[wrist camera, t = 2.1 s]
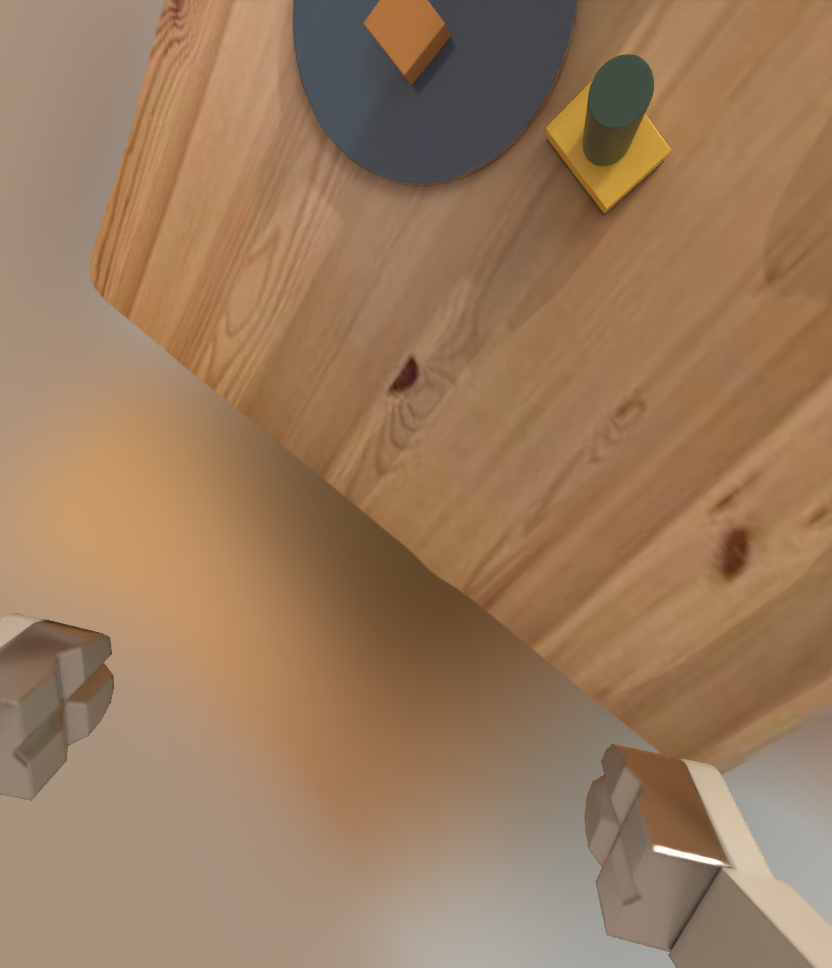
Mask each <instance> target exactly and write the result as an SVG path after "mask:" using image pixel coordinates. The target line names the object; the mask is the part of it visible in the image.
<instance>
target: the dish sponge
mask: <svg viewBox="0 0 832 968" xmlns="http://www.w3.org/2000/svg"><path fill="white" fill-rule="evenodd" d="M653 91H654V77H653V73H652V70H651V68H650V66H649V65H648V64H647V62H646V61H645V60H643V59H642V58H640V57H638V56H636V55H630V54H626V55H620V56H617V57H615V58H613V59H611V60H609V61H608V62H607V63H605V64H604V65H603V66H602V67H601V68H600V69H599V71H598V72H597V73H596V75H595V77H594V78H593V79H592V80H591V81H590V82H589V83H588V84H587V85H586V87H585V88H584V89H583V90H582V91H581V92H580V93H579V94H578V95H577V96H576V97H575V98H574V99H573V100H572V101H571V102H570V103H569V104H568V105H567V106H566V107H565V108H564V109H563V110H562V111H561V112H560V113H559V115H558V116H557V117H556V118H555V119H554V120H553V121H552V122H551V123H550V124H549V125H548V126H547V127H546V136H547V141H548V142H549V144H550V145H551V146H552V148H553V149H554V150H555V152H556V153H557V154H558V155H559V157H560V158H561V159H562V161H563V162H564V163H565V165H566V166H567V167H568V169H569V170H570V171H571V173H572V174H573V175H574V177H575V178H576V179H577V181H578V182H579V183H580V185H581V186H582V187H583V189H584V190H585V191H586V192H587V194H588V195H589V196H590V198H591V199H592V200H593V202H594V203H595V204H596V206H597V207H598V208H599V210H600V211H601V212H602V214H603V215H605V214H606V213H607V212H608V211H609V210H610V209H611V208H612V207H613V206H615V205H616V204H617V203H618V202H619V201H620V200H621V199H622V198H624V197H625V196H626V195H627V194H628V193H629V192H630V191H631V190H632V189H634V188H635V187H636V186H637V185H638V184H639V183H640V182H641V181H642V180H644V179H645V178H646V177H647V176H648V175H649V174H650V173H651V172H652V171H654V170H655V169H656V168H657V167H658V166H659V165H660V164H661V163H663V162H664V160H665V159H666V158H667V156H668V155H669V154H670V152H671V149H670V148H669V146H668V145H667V143H666V142H665V141H664V139H663V138H662V137H661V135H660V134H659V132H658V131H657V130H656V128H655V127H654V126H653V124H652V123H651V122H650V120H649V119H648V117H647V116H646V115H645V112H646V110H647V108H648V106H649V103H650V101H651V98H652V95H653Z"/></svg>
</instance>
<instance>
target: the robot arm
mask: <svg viewBox="0 0 832 968" xmlns="http://www.w3.org/2000/svg"><path fill="white" fill-rule="evenodd" d="M111 654H112V651H111V642H110V637H108V636H106V635H104V634H102V633H99V632H95V631H90V630H87V629H82V628H78V627H74V626H70V625H66V624H62V623H58V622H54V621H50V620H43V619H39V618H35V617H31V616H27V615H23V614H19V613H15V614H11V615H7V616H4V617H2V618H1V619H0V794H1V795H6V796H11V797H16V798H21V799H26V800H32V799H33V798H34V797H35V796H36V795H37V794H38V792H40V790H41V789H42V788H43V787H44V786H45V785H46V784H47V782H48V781H49V780H50V779H51V778H52V777H53V776H54V775H55V773H56V772H57V771H58V770H59V769H60V768H61V767H62V765H63V764H64V763H65V762H66V761H67V752H68V746H69V745H71V744H73V743H75V742H77V741H79V740H81V739H83V738H85V737H87V736H89V734H90V733H91V732H92V731H93V730H94V729H95V727H96V726H97V725H98V724H99V723H100V721H101V720H102V718H103V716H104V714H105V712H106V710H107V708H108V706H109V704H110V703H111V699H112V694H113V689H114V679H113V674H112V673H111V672H110V671H109V669H108V668H107V666H106V665H105V664H104V662H105V660H106V659H107V658H108V657H109V656H110V655H111ZM601 763H602V767H603V771H604V775H603V776H601V777H600V778H598V779H597V780H595V781H593V782H592V785H591V787H590V790H589V793H588V795H587V799H586V809H585V829H586V836H587V842H588V847H589V850H590V852H591V853H592V854H593V856H594V857H595V858H596V860H597V861H598V862H599V864H600V865H601V866H602V869H601V871H600V874H599V876H598V878H597V880H596V886H597V890H598V896H599V901H600V905H601V910H602V915H603V919H604V925H605V929H606V934H607V935H608V936H612V937H615V938H619V939H623V940H626V941H630V942H634V943H638V944H642V945H645V946H649V947H653V948H657V949H660V950H664V951H668V952H670V954H669V957H670V959H671V960H672V962H673V963H674V965H675V967H676V968H832V926H831V925H830V924H829V923H828V922H827V921H826V920H825V919H824V918H823V917H822V916H821V915H820V914H819V913H818V912H817V911H816V910H815V909H814V908H813V907H812V906H811V905H809V903H807V902H806V901H805V900H804V899H803V898H802V897H801V896H800V895H799V894H798V893H797V892H796V891H795V890H794V889H793V888H792V887H791V886H790V885H789V884H788V883H787V882H785V881H782V880H778V879H774V877H773V875H772V873H771V871H770V869H769V867H768V865H767V863H766V861H765V859H764V857H763V855H762V854H761V851H760V850H759V848H758V846H757V844H756V842H755V840H754V838H753V836H752V834H751V832H750V830H749V828H748V826H747V824H746V822H745V820H744V819H743V817H742V815H741V813H740V811H739V809H738V807H737V805H736V803H735V801H734V799H733V797H732V795H731V794H730V791H729V789H728V787H727V786H726V784H725V782H724V780H723V778H722V776H721V774H720V772H719V771H718V770H717V769H716V768H715V767H714V766H713V765H711V764H707V763H702V762H697V761H692V760H687V759H682V758H675V757H672V756H667V755H662V754H657V753H652V752H648V751H642V750H638V749H633V748H629V747H624V746H619V745H614V744H612V745H611V746H610V747H609V748H608V749H607V750H606V751H605V753H604V756H603V758H602V760H601Z"/></svg>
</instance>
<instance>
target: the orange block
mask: <svg viewBox="0 0 832 968" xmlns="http://www.w3.org/2000/svg"><path fill="white" fill-rule="evenodd" d="M364 25H365V26H366V28H367V29H368V30H369V32H370V33H371V35H372V36H373V37H374V38H375V40H376V41H377V42H378V44H379V45H380V46H381V47H382V49H383V50H384V51H385V53H386V54H387V55H388V56H389V58H390V59H391V60H392V62H393V63H394V64H395V65H396V67H397V68H398V69H399V71H400V72H401V73H402V74H403V76H404V77H405V78H406V80H407V81H408V82H409V83H410V85H412V84H413V83H414V82H415V81H416V79H417V78H418V77H419V76H420V74H421V73H422V72H423V71H424V69H425V68H426V67H427V66H428V64H429V63H430V62H431V61H432V59H433V58H434V57H435V56H436V54H437V53H438V52H439V51H440V49H441V48H442V47H443V46H444V44H445V43H446V42H447V41H448V39H449V38H450V37H451V36H450V33H449V31H448V29H447V27H446V24H445V23H444V21H443V20H442V19H441V17H440V16H439V15H438V13H437V12H436V11H435V9H434V8H433V7H432V5H431V4H430V3H429V2H428V0H379V2H378V3H377V5H376V6H375V7H374V9H373V10H372V12H371V13H370V14H369V16H368V17H367V19H366V20H365V21H364Z"/></svg>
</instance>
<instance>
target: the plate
mask: <svg viewBox="0 0 832 968" xmlns="http://www.w3.org/2000/svg"><path fill="white" fill-rule="evenodd" d="M378 2H379V0H294V5H293V31H294V45H295V52H296V58H297V64H298V68H299V72H300V76H301V80H302V84H303V87H304V89H305V92H306V95H307V98H308V100H309V103H310V105H311V107H312V109H313V111H314V113H315V115H316V117H317V119H318V121H319V122H320V124H321V125H322V127H323V128H324V130H325V132H326V133H327V135H328V136H329V137H330V138H331V139H332V141H333V142H334V143H335V144H336V145H337V147H338V148H339V149H340V150H341V151H342V152H343V153H345V154H346V155H347V156H348V157H349V158H350V159H351V160H352V161H354V162H355V163H357V164H358V165H360V166H361V167H363V168H364V169H366V170H367V171H369V172H371V173H373V174H375V175H377V176H379V177H381V178H383V179H386V180H389V181H393V182H396V183H399V184H406V185H413V186H432V185H438V184H444V183H449V182H452V181H455V180H458V179H461V178H464V177H467V176H469V175H471V174H473V173H475V172H477V171H479V170H481V169H483V168H484V167H486V166H487V165H489V164H490V163H492V162H493V161H495V160H496V159H497V158H499V157H500V156H501V155H502V154H503V153H505V152H506V151H507V150H508V149H509V148H510V147H511V146H513V145H514V144H515V142H516V141H517V140H518V139H519V138H520V137H521V136H522V135H523V134H524V133H525V131H526V130H527V129H528V128H529V127H530V125H531V124H532V122H533V121H534V120H535V118H536V117H537V116H538V114H539V113H540V111H541V110H542V108H543V106H544V104H545V103H546V101H547V99H548V98H549V96H550V94H551V92H552V90H553V88H554V86H555V84H556V81H557V79H558V77H559V75H560V72H561V70H562V67H563V64H564V61H565V58H566V55H567V52H568V49H569V46H570V42H571V37H572V33H573V28H574V23H575V17H576V8H577V0H428V2H429V3H430V4H431V5H432V7H433V8H434V9H435V11H436V12H437V13H438V15H439V16H440V17H441V19H442V20H443V21H444V23H445V24H446V27H447V29H448V31H449V33H450V36H451V37H450V38H449V39H448V41H447V42H446V43H445V44H444V46H443V47H442V48H441V49H440V51H439V52H438V53H437V54H436V56H435V57H434V58H433V59H432V61H431V62H430V63H429V64H428V66H427V67H426V68H425V69H424V71H423V72H422V73H421V74H420V76H419V77H418V78H417V79H416V81H415V82H414V83H413V84H412V85H410V83H409V82H408V81H407V80H406V78H405V77H404V76H403V74H402V73H401V72H400V71H399V69H398V68H397V67H396V65H395V64H394V63H393V62H392V60H391V59H390V58H389V56H388V55H387V54H386V53H385V51H384V50H383V49H382V47H381V46H380V45H379V44H378V42H377V41H376V40H375V38H374V37H373V36H372V35H371V33H370V32H369V30H368V29H367V28H366V26H365V25H364V21H365V20H366V19H367V17H368V16H369V14H370V13H371V12H372V10H373V9H374V7H375V6H376V5H377V3H378Z"/></svg>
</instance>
